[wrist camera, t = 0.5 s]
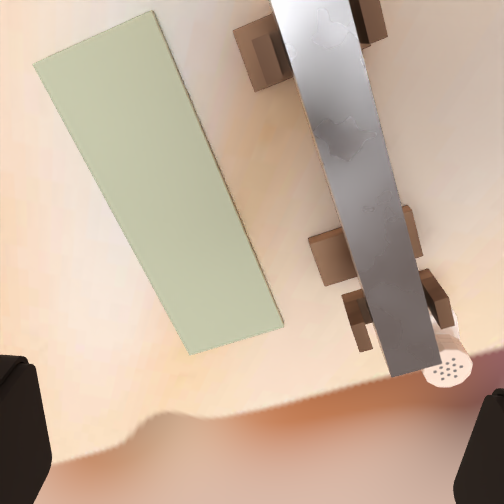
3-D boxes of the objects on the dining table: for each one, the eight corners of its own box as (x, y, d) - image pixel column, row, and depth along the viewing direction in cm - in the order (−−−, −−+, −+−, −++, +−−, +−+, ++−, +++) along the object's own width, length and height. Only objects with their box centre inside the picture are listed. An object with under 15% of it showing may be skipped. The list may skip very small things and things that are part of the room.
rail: (263, -16, 21) (263, -24, 19) (325, -43, 21) (334, -55, 18) (379, 346, 30) (391, 377, 27) (425, 333, 29) (442, 363, 27)
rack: (350, -20, 29) (399, -52, 18) (418, 249, 37) (479, 333, 26) (233, 31, 30) (217, 27, 20) (322, 279, 38) (344, 370, 28)
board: (153, 10, 30) (151, 10, 29) (283, 323, 40) (284, 327, 39) (36, 63, 31) (32, 64, 31) (190, 351, 42) (189, 355, 41)
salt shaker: (387, 319, 40) (421, 397, 31) (379, 280, 38) (413, 351, 29) (434, 309, 39) (481, 386, 30) (428, 269, 37) (477, 338, 29)
